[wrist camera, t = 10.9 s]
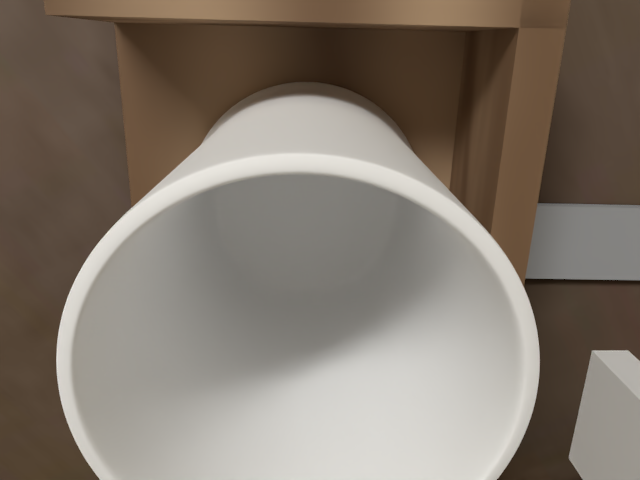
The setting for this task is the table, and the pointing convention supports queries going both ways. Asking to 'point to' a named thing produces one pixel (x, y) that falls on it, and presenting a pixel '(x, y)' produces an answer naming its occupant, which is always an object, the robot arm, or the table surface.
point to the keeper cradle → (353, 83)
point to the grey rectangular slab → (585, 242)
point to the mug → (298, 312)
